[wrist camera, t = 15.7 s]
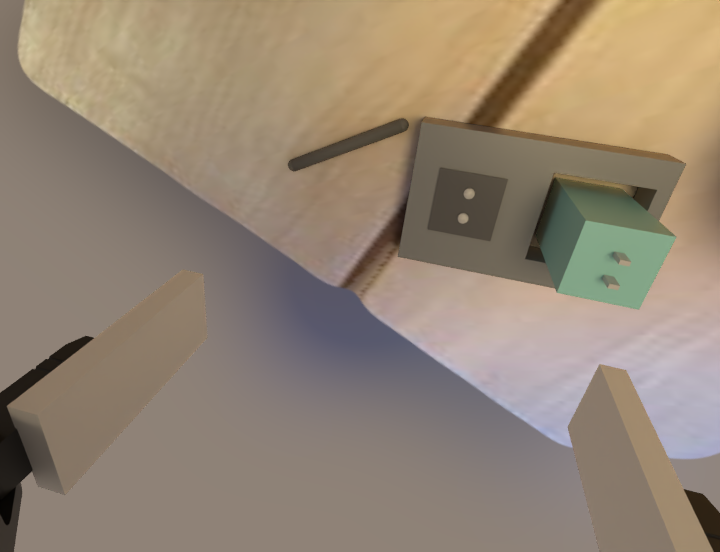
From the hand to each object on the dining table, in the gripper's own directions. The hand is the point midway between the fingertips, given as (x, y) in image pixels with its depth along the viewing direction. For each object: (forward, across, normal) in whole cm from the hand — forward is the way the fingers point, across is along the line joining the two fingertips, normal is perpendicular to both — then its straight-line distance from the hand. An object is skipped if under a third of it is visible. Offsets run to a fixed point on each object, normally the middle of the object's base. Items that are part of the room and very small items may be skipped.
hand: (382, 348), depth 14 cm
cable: (+25, -8, +1) cm, 26 cm away
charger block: (+25, +12, -2) cm, 28 cm away
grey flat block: (+25, +8, -2) cm, 26 cm away
